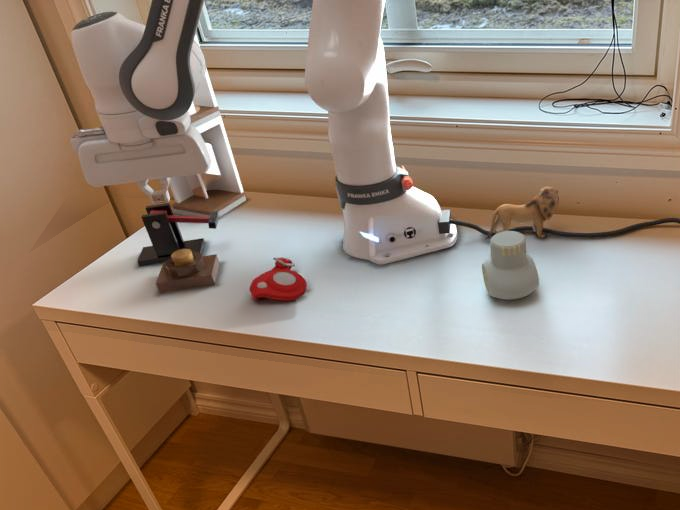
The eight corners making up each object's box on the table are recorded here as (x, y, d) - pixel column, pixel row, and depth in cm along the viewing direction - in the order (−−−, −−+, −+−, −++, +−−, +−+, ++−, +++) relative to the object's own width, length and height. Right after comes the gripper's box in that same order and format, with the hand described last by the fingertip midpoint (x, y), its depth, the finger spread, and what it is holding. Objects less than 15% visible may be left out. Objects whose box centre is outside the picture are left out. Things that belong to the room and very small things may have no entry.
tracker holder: (316, 288, 123) (260, 296, 118) (314, 307, 126) (259, 316, 121) (291, 248, 130) (237, 254, 124) (289, 267, 133) (236, 274, 127)
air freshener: (542, 303, 116) (540, 250, 110) (493, 311, 115) (489, 258, 109) (526, 270, 125) (524, 220, 119) (481, 278, 124) (477, 227, 118)
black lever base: (205, 243, 143) (189, 198, 137) (201, 257, 138) (185, 211, 132) (145, 252, 142) (126, 207, 136) (139, 266, 137) (119, 221, 131)
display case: (175, 213, 155) (112, 46, 134) (209, 193, 163) (154, 32, 141) (213, 220, 151) (155, 49, 129) (246, 200, 158) (196, 34, 137)
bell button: (195, 255, 131) (192, 247, 130) (192, 265, 128) (189, 256, 127) (176, 258, 131) (172, 250, 130) (172, 268, 128) (169, 259, 127)
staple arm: (219, 220, 140) (217, 208, 138) (216, 231, 136) (215, 219, 135) (154, 218, 137) (152, 206, 136) (149, 229, 133) (147, 218, 132)
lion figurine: (554, 223, 138) (554, 180, 133) (563, 235, 134) (563, 191, 129) (482, 235, 136) (479, 192, 131) (489, 248, 132) (485, 204, 127)
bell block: (220, 264, 135) (213, 245, 133) (215, 285, 129) (208, 266, 127) (167, 272, 134) (159, 253, 132) (159, 293, 128) (151, 274, 126)
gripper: (60, 138, 110) (95, 217, 119) (192, 122, 113) (217, 201, 121) (71, 124, 115) (104, 202, 124) (198, 109, 117) (221, 186, 126)
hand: (161, 201), depth 122 cm, fingers closed
